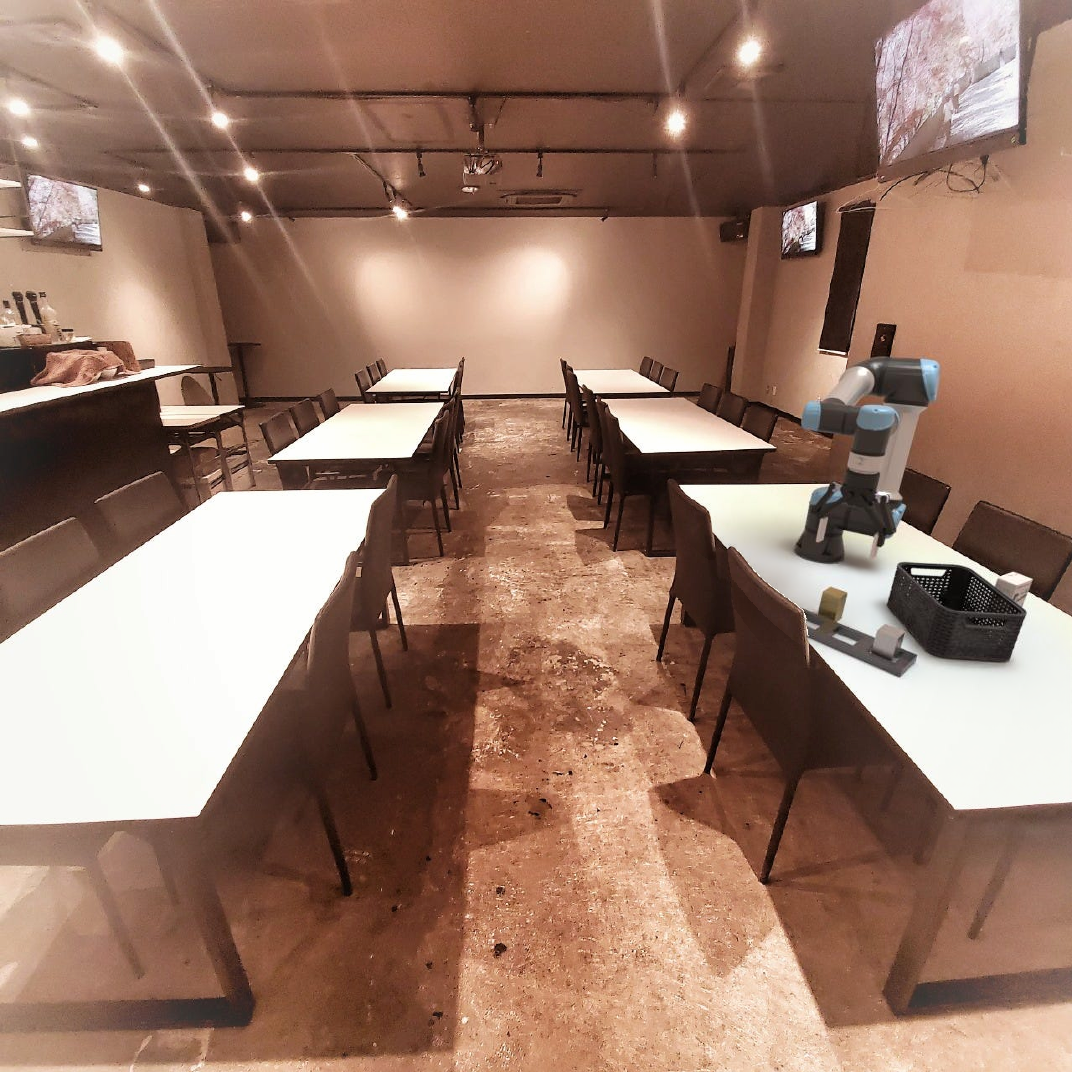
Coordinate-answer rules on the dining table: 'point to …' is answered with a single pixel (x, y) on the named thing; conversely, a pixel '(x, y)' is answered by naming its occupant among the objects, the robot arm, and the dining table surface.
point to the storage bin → (955, 612)
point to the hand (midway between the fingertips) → (845, 548)
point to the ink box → (1014, 587)
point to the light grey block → (888, 642)
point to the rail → (856, 644)
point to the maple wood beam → (832, 604)
